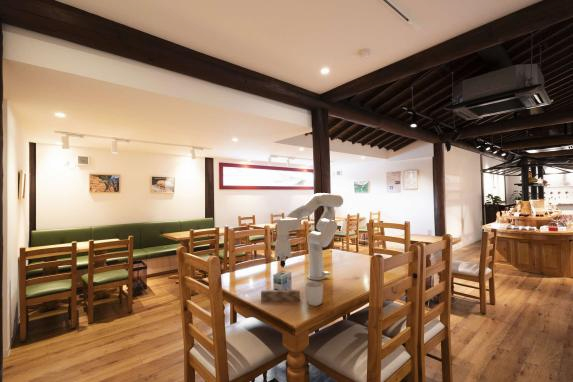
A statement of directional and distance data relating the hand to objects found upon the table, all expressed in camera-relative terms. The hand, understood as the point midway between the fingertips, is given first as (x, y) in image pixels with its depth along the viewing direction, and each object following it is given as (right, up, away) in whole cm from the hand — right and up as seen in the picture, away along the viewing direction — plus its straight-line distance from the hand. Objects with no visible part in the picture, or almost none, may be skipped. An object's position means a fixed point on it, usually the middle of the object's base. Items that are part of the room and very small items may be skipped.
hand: (282, 266), depth 171 cm
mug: (+18, -11, -28) cm, 35 cm away
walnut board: (-1, -11, -25) cm, 27 cm away
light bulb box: (0, -12, -11) cm, 16 cm away
